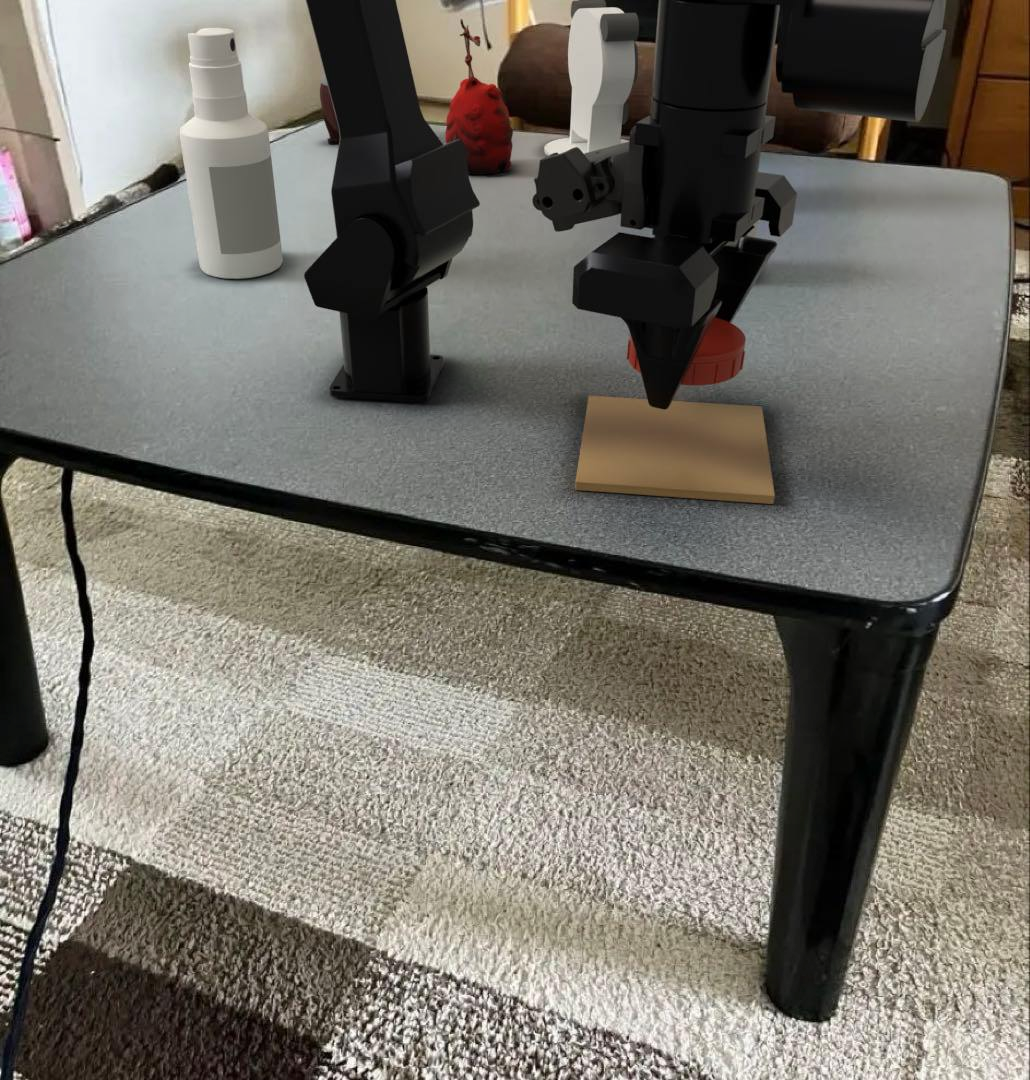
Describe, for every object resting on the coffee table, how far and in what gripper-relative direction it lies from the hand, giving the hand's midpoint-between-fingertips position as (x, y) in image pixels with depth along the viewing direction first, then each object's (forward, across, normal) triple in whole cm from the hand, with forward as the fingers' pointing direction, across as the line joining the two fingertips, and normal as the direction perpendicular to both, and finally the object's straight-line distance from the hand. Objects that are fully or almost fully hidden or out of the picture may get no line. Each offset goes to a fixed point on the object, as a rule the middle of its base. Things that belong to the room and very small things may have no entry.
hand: (679, 384), depth 63 cm
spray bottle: (+4, -13, -43) cm, 45 cm away
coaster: (+4, 0, 0) cm, 4 cm away
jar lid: (-3, 0, 0) cm, 3 cm away
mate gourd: (+5, -52, -58) cm, 78 cm away
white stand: (+4, -62, -32) cm, 70 cm away
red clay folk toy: (+4, -49, -40) cm, 64 cm away
